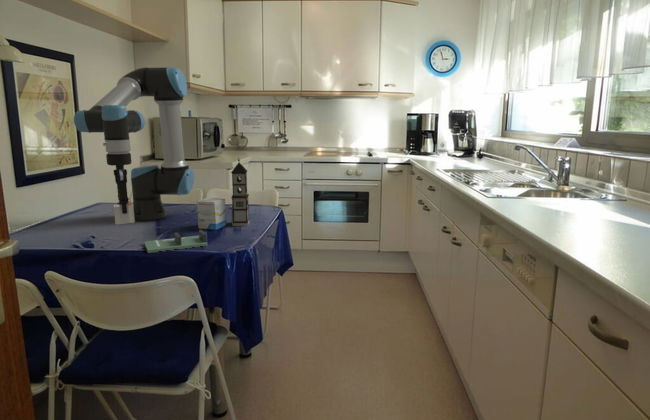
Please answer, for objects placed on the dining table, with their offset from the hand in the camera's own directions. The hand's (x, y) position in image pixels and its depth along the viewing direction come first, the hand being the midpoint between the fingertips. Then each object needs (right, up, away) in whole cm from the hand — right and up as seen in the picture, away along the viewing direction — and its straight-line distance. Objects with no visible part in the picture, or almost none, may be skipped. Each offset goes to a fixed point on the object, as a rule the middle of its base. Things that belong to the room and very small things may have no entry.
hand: (125, 220), depth 157 cm
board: (+15, -9, +7) cm, 19 cm away
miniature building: (+33, -2, +38) cm, 51 cm away
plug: (0, 0, 0) cm, 1 cm away
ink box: (+22, -4, +33) cm, 40 cm away
